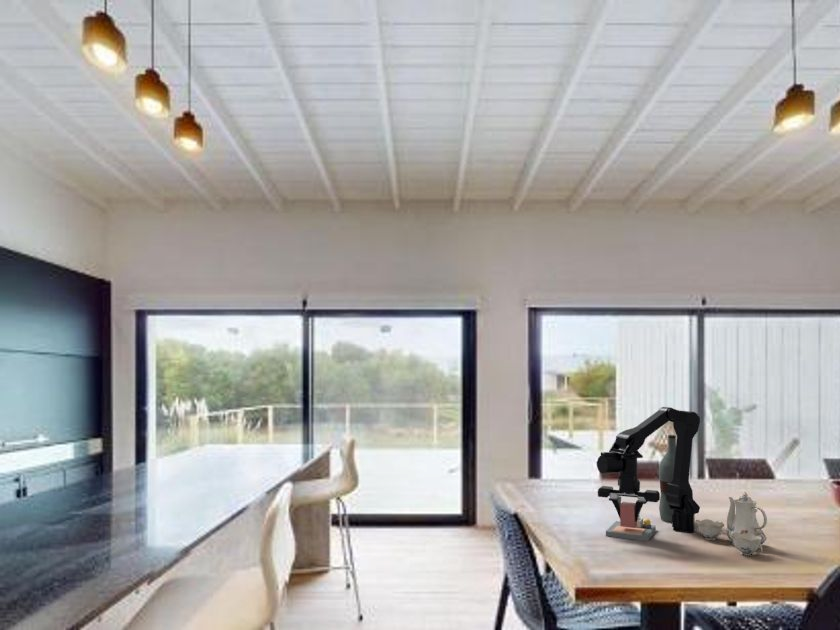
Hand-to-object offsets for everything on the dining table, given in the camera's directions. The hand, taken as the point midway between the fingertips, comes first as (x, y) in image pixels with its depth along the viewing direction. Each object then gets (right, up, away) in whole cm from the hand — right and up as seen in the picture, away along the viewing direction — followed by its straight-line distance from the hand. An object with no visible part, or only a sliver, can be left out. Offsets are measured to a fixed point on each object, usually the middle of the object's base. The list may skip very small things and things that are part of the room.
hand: (628, 520), depth 223 cm
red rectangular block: (0, -2, 0) cm, 2 cm away
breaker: (+3, -3, +6) cm, 8 cm away
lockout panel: (+2, -5, +3) cm, 6 cm away
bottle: (+22, -7, +22) cm, 32 cm away
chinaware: (+30, -5, -11) cm, 32 cm away
